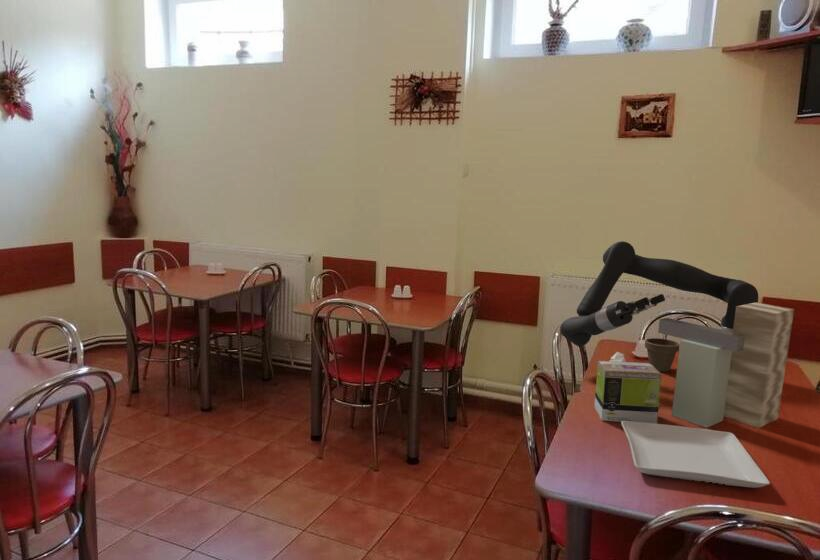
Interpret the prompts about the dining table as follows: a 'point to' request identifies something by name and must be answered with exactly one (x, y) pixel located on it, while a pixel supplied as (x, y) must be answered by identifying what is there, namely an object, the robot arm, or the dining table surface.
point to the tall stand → (758, 363)
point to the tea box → (627, 391)
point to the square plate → (692, 454)
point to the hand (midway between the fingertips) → (656, 298)
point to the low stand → (701, 383)
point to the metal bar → (702, 334)
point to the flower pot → (661, 352)
